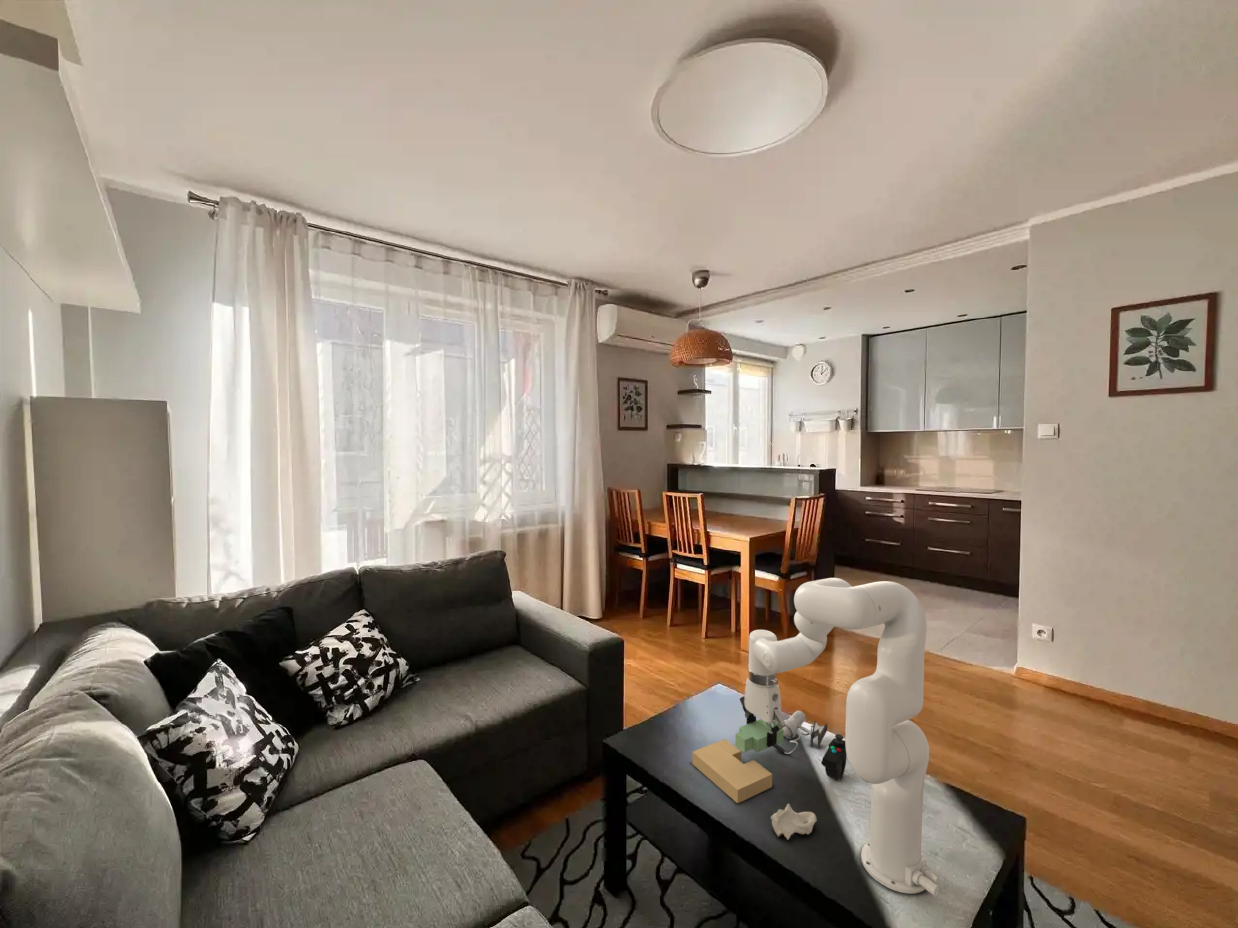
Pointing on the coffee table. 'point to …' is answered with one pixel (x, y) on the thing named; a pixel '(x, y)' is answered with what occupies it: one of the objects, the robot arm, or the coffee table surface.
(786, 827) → the coral
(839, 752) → the controller
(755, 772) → the sand pad
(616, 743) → the coffee table surface
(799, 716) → the clip-on lamp
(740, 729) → the green pad
